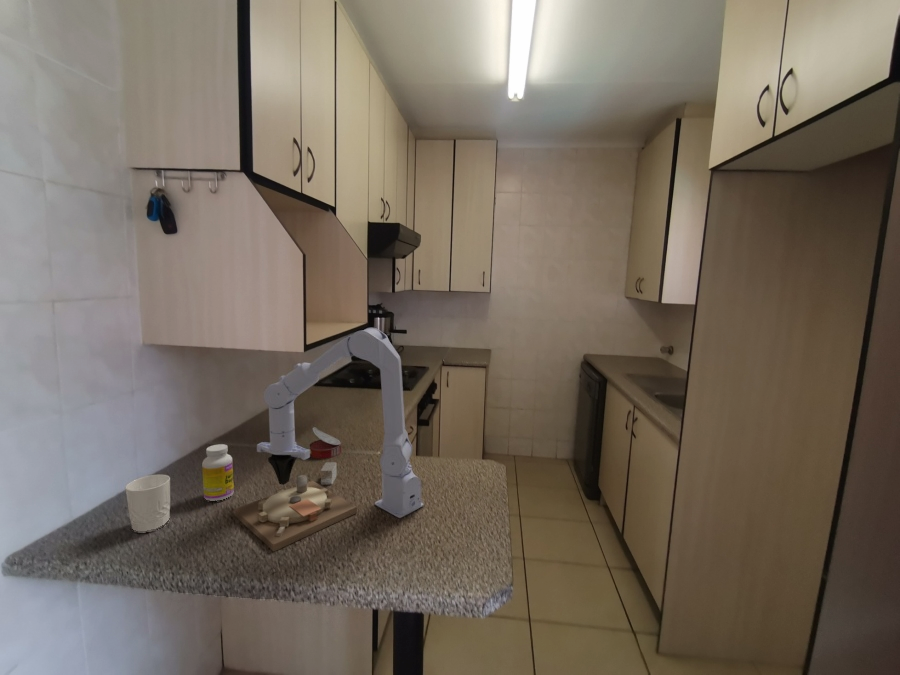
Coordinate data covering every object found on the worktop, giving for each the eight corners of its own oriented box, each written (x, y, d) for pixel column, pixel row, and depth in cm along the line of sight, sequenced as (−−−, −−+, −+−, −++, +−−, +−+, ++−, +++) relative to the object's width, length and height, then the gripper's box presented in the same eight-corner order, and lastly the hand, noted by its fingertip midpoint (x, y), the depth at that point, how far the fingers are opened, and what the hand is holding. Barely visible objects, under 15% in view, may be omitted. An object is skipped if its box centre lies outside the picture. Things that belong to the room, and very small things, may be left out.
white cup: (179, 514, 96) (176, 473, 95) (161, 533, 88) (158, 489, 87) (141, 517, 95) (138, 475, 94) (120, 537, 87) (116, 492, 86)
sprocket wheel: (345, 506, 97) (345, 486, 97) (278, 536, 85) (277, 513, 84) (309, 484, 108) (309, 465, 107) (244, 508, 96) (243, 487, 95)
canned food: (320, 461, 138) (325, 431, 142) (345, 462, 135) (350, 432, 138) (297, 457, 129) (304, 425, 132) (324, 458, 125) (330, 425, 129)
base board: (356, 512, 98) (356, 504, 97) (273, 551, 83) (273, 541, 82) (312, 485, 111) (312, 478, 111) (234, 515, 96) (233, 506, 96)
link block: (325, 475, 117) (325, 462, 117) (336, 475, 117) (336, 462, 117) (321, 484, 112) (320, 470, 111) (332, 484, 112) (332, 470, 111)
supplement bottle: (228, 502, 102) (226, 451, 100) (199, 504, 101) (196, 453, 99) (237, 489, 108) (235, 442, 107) (210, 491, 107) (207, 443, 106)
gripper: (317, 428, 103) (318, 480, 104) (270, 421, 108) (272, 471, 109) (298, 437, 96) (299, 493, 98) (249, 430, 101) (251, 483, 102)
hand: (284, 482), depth 103 cm, fingers closed
